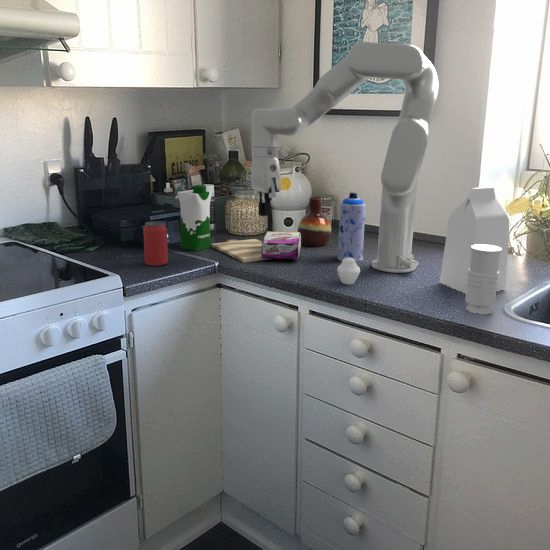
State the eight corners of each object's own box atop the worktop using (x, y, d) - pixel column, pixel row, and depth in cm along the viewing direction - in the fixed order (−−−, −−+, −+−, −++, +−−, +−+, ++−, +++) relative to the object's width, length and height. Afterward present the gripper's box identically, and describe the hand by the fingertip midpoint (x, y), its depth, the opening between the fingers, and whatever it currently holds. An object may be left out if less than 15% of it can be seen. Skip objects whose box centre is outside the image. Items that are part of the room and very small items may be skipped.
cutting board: (290, 256, 190) (290, 253, 190) (243, 262, 182) (243, 259, 182) (251, 240, 210) (251, 237, 210) (208, 245, 202) (208, 242, 202)
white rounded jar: (347, 287, 160) (348, 261, 158) (331, 281, 165) (332, 256, 163) (364, 283, 164) (366, 258, 162) (348, 278, 168) (350, 253, 167)
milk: (468, 295, 156) (479, 192, 148) (439, 282, 166) (448, 185, 158) (505, 290, 160) (518, 190, 153) (475, 278, 170) (485, 183, 163)
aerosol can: (335, 255, 192) (337, 191, 187) (359, 255, 193) (363, 191, 187) (339, 262, 185) (342, 195, 179) (365, 261, 185) (369, 195, 180)
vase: (295, 240, 211) (296, 195, 207) (327, 240, 212) (329, 195, 208) (299, 247, 201) (301, 200, 196) (333, 247, 202) (335, 200, 198)
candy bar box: (261, 242, 182) (265, 230, 197) (261, 258, 183) (265, 246, 199) (299, 242, 181) (301, 231, 197) (299, 259, 182) (300, 246, 198)
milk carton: (196, 252, 193) (195, 188, 187) (175, 247, 198) (173, 185, 192) (215, 247, 200) (214, 185, 194) (194, 243, 205) (193, 182, 199)
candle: (465, 313, 142) (472, 250, 138) (462, 304, 149) (468, 243, 145) (496, 316, 141) (504, 252, 137) (492, 306, 148) (499, 245, 144)
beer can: (172, 263, 179) (171, 223, 176) (153, 268, 175) (152, 226, 171) (158, 259, 184) (157, 219, 180) (140, 263, 179) (138, 222, 176)
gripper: (289, 154, 175) (288, 218, 180) (263, 150, 187) (263, 210, 192) (266, 155, 171) (266, 220, 176) (241, 151, 184) (241, 212, 189)
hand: (264, 215), depth 184 cm, fingers closed
